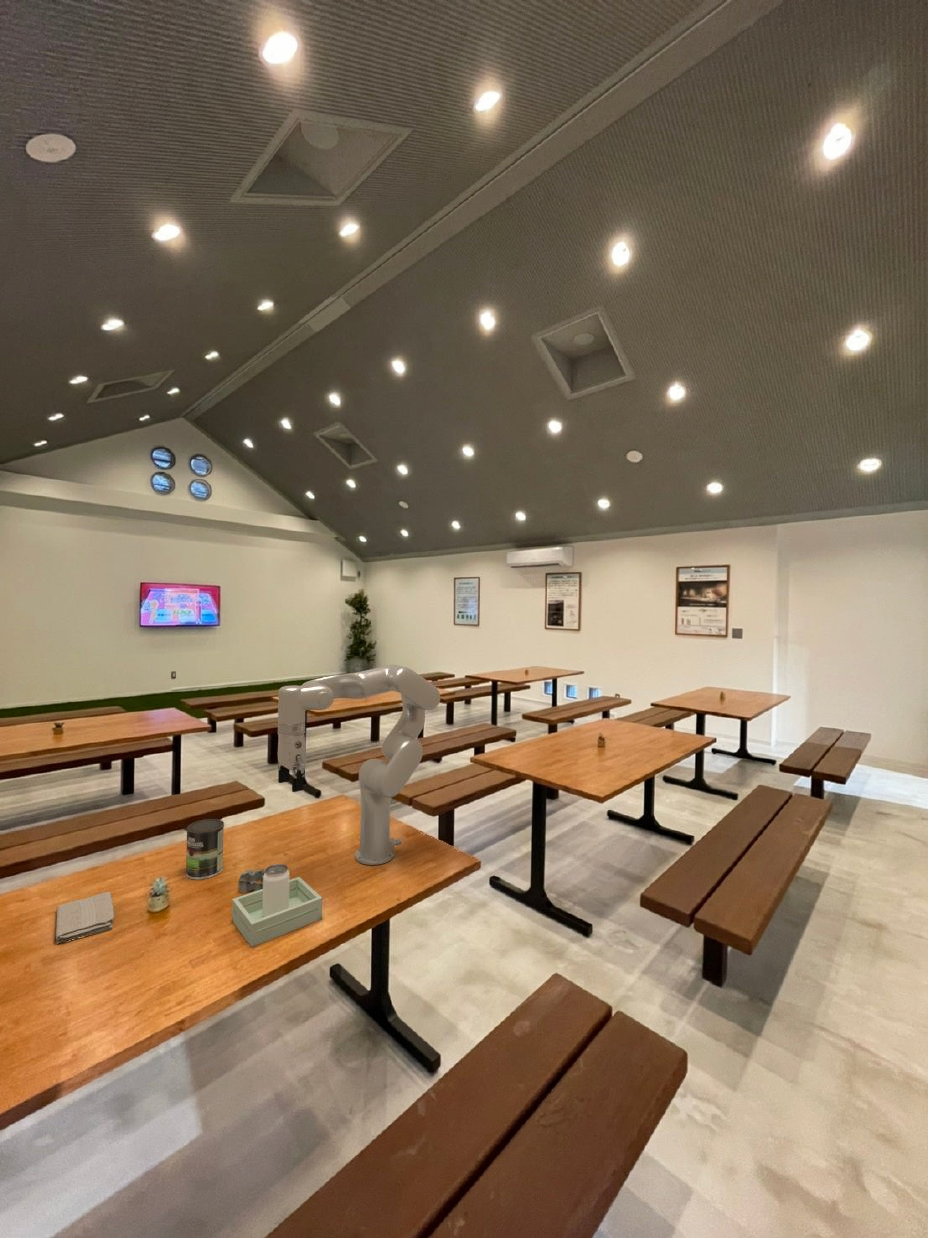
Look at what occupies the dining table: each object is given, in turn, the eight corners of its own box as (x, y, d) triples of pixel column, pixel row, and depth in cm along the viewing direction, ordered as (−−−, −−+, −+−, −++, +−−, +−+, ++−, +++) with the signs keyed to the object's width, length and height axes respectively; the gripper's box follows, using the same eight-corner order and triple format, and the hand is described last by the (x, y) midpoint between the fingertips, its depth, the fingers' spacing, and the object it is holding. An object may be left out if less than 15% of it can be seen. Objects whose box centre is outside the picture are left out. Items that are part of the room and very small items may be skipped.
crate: (298, 896, 147) (299, 876, 147) (321, 918, 137) (322, 897, 136) (231, 920, 135) (232, 899, 135) (251, 947, 125) (251, 924, 124)
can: (265, 908, 139) (266, 863, 139) (291, 907, 140) (291, 862, 140) (259, 922, 133) (260, 875, 133) (286, 921, 134) (286, 874, 133)
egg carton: (236, 895, 147) (236, 880, 147) (241, 881, 155) (241, 867, 155) (276, 891, 150) (276, 877, 150) (279, 877, 157) (279, 864, 157)
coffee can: (203, 883, 153) (203, 835, 153) (177, 875, 157) (178, 828, 156) (231, 867, 162) (231, 822, 162) (206, 860, 166) (207, 816, 166)
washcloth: (55, 949, 123) (55, 936, 123) (54, 913, 137) (55, 901, 137) (116, 930, 131) (116, 918, 131) (109, 898, 145) (109, 887, 145)
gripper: (316, 732, 150) (315, 791, 150) (291, 721, 163) (290, 776, 163) (291, 735, 145) (290, 797, 145) (267, 724, 158) (266, 781, 158)
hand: (290, 786), depth 154 cm, fingers open, 9 cm apart
